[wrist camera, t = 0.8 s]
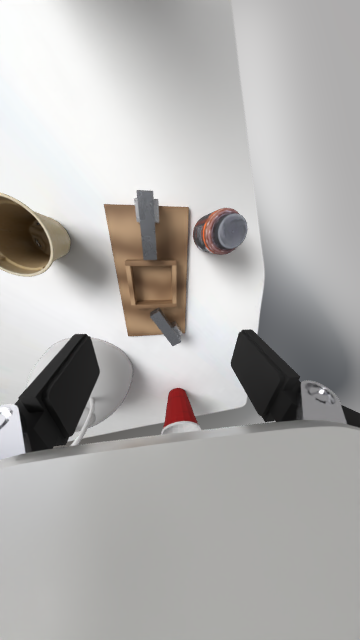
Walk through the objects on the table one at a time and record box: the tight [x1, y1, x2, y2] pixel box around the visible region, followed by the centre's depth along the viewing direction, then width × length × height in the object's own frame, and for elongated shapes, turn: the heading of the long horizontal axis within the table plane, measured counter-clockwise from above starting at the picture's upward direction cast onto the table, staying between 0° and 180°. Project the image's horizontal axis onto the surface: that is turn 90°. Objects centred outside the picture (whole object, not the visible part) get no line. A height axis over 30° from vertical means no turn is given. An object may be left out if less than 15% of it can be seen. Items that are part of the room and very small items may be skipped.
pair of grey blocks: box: [134, 190, 183, 346], centre depth 30 cm, size 28×8×5 cm, turn 179°
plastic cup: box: [161, 388, 201, 435], centre depth 46 cm, size 11×11×12 cm
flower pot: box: [0, 193, 71, 277], centre depth 23 cm, size 9×9×9 cm
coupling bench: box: [104, 204, 189, 336], centre depth 31 cm, size 26×14×3 cm, turn 179°
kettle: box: [26, 338, 133, 446], centre depth 32 cm, size 25×23×22 cm
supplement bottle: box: [193, 208, 247, 255], centre depth 24 cm, size 6×6×11 cm
